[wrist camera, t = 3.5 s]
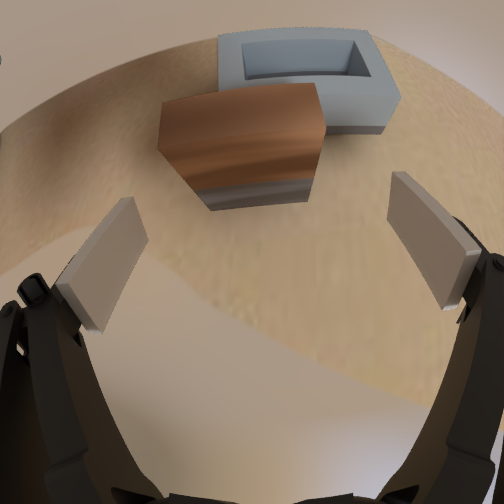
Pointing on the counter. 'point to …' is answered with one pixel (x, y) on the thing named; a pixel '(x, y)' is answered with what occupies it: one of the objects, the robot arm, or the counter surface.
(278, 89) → the brown wood block
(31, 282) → the robot arm
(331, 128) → the frame block
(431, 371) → the counter surface
